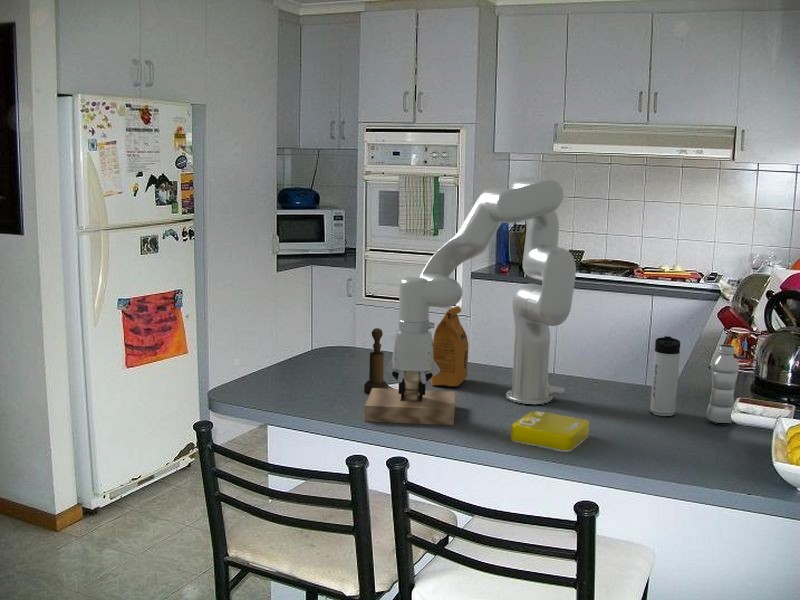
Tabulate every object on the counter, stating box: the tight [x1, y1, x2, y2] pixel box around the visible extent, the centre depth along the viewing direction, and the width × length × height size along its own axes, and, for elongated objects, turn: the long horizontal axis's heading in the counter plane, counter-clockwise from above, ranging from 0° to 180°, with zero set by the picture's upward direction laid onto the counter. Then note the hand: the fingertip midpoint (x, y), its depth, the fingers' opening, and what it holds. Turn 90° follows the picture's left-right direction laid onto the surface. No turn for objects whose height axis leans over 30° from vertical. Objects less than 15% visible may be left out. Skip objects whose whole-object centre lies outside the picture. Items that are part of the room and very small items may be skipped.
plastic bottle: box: [706, 344, 740, 424], centre depth 219 cm, size 6×7×20 cm
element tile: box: [510, 410, 590, 450], centre depth 206 cm, size 15×15×5 cm
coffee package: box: [430, 305, 469, 387], centre depth 250 cm, size 10×12×22 cm
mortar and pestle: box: [363, 327, 389, 395], centre depth 240 cm, size 7×6×18 cm
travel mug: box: [649, 335, 681, 414], centre depth 226 cm, size 6×7×20 cm
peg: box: [403, 371, 421, 402], centre depth 221 cm, size 4×4×10 cm
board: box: [364, 388, 456, 426], centre depth 222 cm, size 22×16×4 cm
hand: (411, 396), depth 222 cm, fingers closed on peg, 4 cm apart
